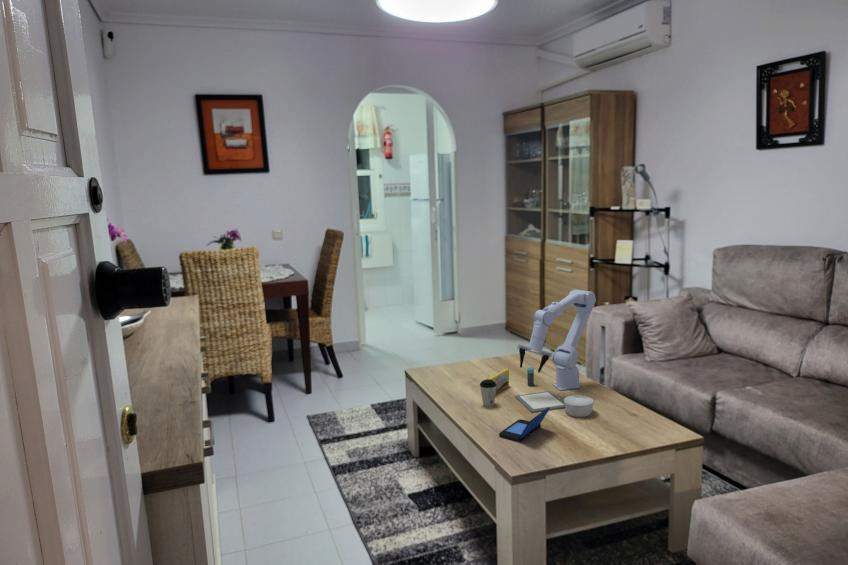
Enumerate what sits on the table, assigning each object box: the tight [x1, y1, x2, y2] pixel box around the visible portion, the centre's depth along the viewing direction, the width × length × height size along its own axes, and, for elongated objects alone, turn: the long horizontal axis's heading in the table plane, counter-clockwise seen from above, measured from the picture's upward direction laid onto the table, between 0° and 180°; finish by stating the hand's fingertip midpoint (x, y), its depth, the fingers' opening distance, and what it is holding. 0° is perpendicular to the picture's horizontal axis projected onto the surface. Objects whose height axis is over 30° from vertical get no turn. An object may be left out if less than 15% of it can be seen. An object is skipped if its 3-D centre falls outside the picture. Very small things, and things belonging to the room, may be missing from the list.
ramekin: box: [563, 394, 594, 418], centre depth 224 cm, size 11×11×5 cm
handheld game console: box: [498, 407, 550, 443], centre depth 208 cm, size 16×13×9 cm
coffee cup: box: [479, 378, 496, 408], centre depth 236 cm, size 7×7×10 cm
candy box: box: [487, 368, 510, 395], centre depth 251 cm, size 16×2×8 cm, turn 143°
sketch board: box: [514, 390, 565, 414], centre depth 237 cm, size 16×18×1 cm
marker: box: [526, 366, 535, 387], centre depth 256 cm, size 3×3×8 cm
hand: (529, 370), depth 239 cm, fingers open, 7 cm apart
